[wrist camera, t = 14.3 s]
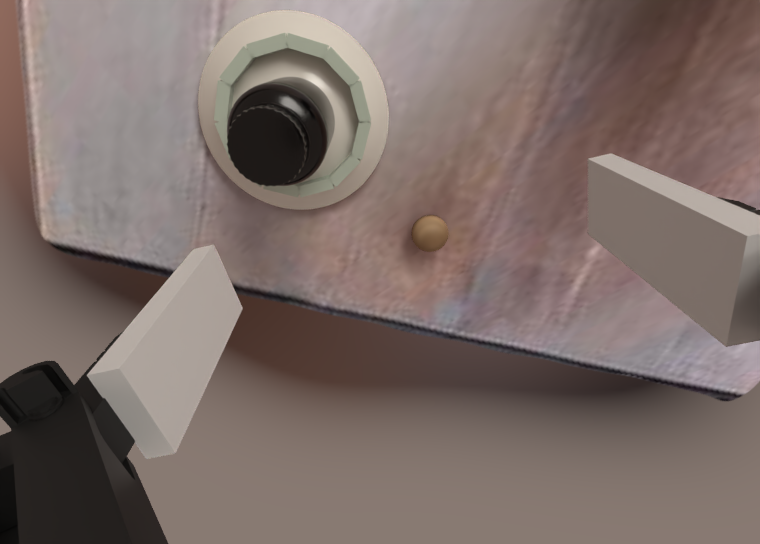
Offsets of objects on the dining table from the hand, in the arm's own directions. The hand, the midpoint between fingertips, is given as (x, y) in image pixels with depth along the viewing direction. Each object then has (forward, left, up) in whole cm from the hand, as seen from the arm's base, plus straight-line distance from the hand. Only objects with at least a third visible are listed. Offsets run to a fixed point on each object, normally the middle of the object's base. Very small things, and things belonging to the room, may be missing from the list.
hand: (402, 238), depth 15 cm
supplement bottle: (-2, -6, -25) cm, 26 cm away
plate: (-2, -6, -26) cm, 27 cm away
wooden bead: (+11, +3, -26) cm, 28 cm away
